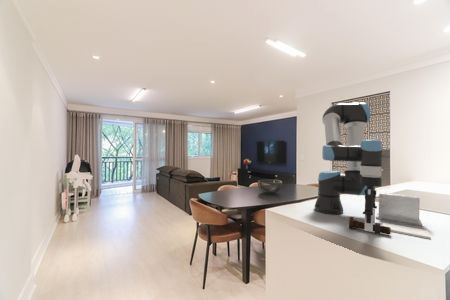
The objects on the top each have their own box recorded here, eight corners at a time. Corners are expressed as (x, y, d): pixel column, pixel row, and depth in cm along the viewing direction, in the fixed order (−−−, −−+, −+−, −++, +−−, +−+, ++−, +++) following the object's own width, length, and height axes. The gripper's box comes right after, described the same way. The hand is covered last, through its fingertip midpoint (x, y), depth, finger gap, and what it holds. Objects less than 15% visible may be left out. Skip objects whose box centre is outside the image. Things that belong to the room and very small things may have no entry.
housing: (376, 218, 114) (376, 193, 114) (377, 214, 122) (377, 191, 122) (422, 226, 103) (422, 199, 103) (420, 221, 111) (420, 196, 111)
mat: (381, 229, 98) (381, 227, 98) (382, 224, 106) (382, 222, 106) (430, 239, 88) (430, 237, 88) (427, 232, 96) (427, 230, 96)
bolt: (390, 240, 91) (348, 231, 99) (389, 231, 94) (349, 223, 103) (391, 230, 88) (348, 221, 97) (390, 221, 92) (350, 214, 100)
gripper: (380, 179, 80) (379, 237, 80) (382, 175, 100) (381, 221, 100) (356, 177, 85) (355, 232, 84) (363, 174, 105) (362, 218, 104)
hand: (369, 226), depth 92 cm, fingers open, 13 cm apart
